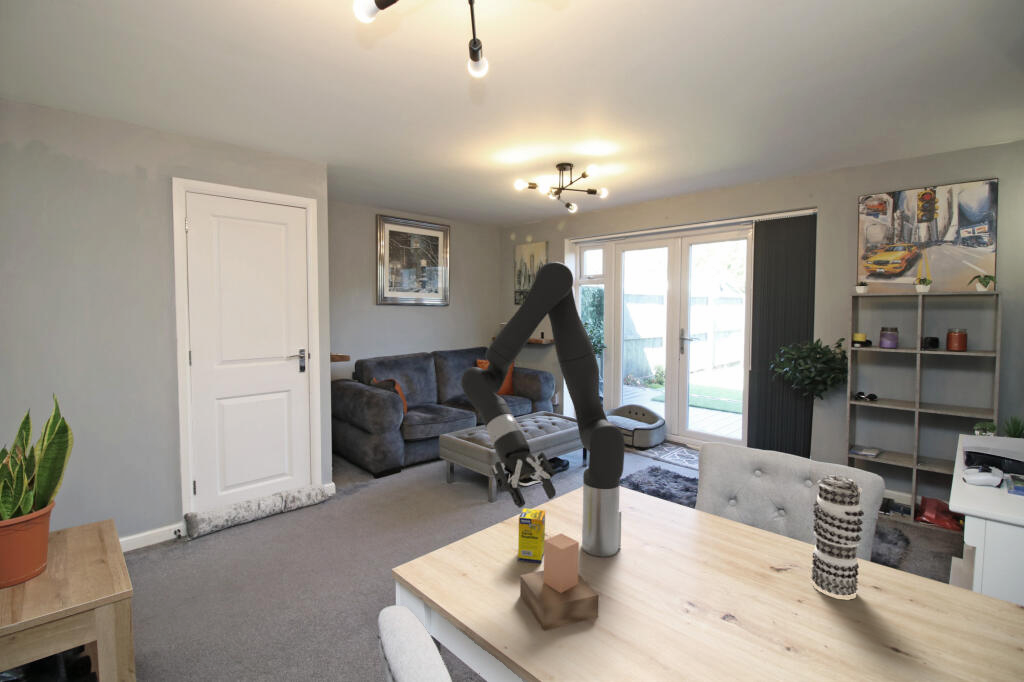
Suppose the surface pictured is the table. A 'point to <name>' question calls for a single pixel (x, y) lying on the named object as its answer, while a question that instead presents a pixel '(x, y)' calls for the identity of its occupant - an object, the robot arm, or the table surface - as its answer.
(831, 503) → the decorative candle
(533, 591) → the walnut block
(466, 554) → the table surface
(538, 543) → the supplement box
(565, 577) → the terracotta block
